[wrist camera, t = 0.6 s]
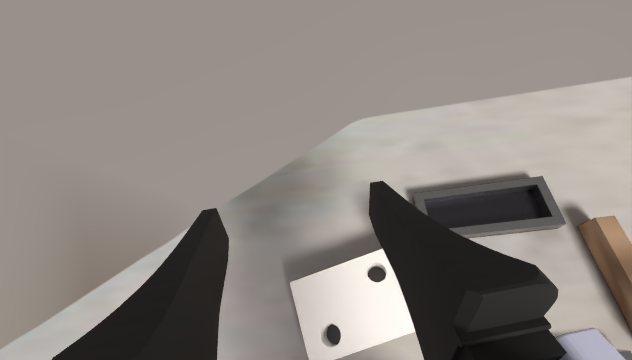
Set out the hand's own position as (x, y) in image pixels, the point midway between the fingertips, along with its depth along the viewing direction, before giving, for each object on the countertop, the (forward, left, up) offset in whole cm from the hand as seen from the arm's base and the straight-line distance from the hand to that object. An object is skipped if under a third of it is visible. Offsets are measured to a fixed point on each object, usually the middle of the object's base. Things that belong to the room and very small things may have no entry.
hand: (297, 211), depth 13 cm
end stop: (-3, -24, -18) cm, 30 cm away
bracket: (-3, -2, -19) cm, 19 cm away
